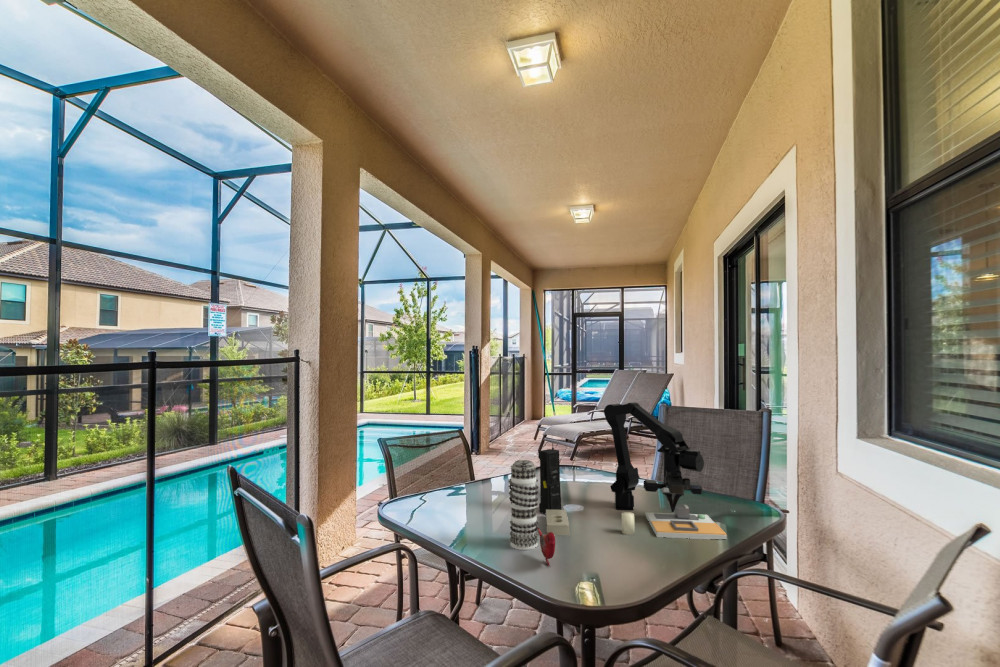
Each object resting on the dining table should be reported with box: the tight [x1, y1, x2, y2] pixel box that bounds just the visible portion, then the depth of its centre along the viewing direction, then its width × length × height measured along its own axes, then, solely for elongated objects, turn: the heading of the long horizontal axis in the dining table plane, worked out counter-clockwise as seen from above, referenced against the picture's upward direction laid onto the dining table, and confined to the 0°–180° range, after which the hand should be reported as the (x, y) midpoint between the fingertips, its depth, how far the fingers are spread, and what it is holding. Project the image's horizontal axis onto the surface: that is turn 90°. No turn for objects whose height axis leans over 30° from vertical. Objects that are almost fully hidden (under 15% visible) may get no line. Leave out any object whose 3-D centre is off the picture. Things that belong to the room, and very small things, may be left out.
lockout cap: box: [621, 511, 636, 536], centre depth 150 cm, size 4×4×6 cm
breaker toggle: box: [674, 504, 691, 518], centre depth 160 cm, size 4×4×3 cm
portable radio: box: [537, 442, 563, 514], centre depth 172 cm, size 8×6×25 cm
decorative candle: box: [507, 459, 539, 551], centre depth 141 cm, size 9×9×25 cm
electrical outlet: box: [545, 509, 570, 536], centre depth 156 cm, size 7×4×18 cm
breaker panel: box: [645, 512, 728, 540], centre depth 154 cm, size 21×20×3 cm
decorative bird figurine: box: [537, 527, 556, 567], centre depth 129 cm, size 3×18×10 cm, turn 9°
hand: (672, 511), depth 160 cm, fingers closed
